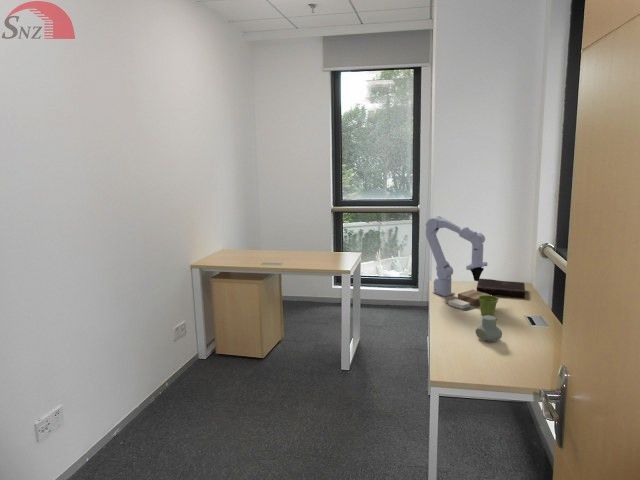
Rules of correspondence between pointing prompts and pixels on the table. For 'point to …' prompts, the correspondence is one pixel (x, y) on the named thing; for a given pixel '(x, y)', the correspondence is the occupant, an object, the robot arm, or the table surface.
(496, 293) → the diary
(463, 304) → the off-white rectangular block
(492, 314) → the plant pot
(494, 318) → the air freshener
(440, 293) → the robot arm
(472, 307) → the mat
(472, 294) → the brown shallow square box
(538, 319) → the table surface
